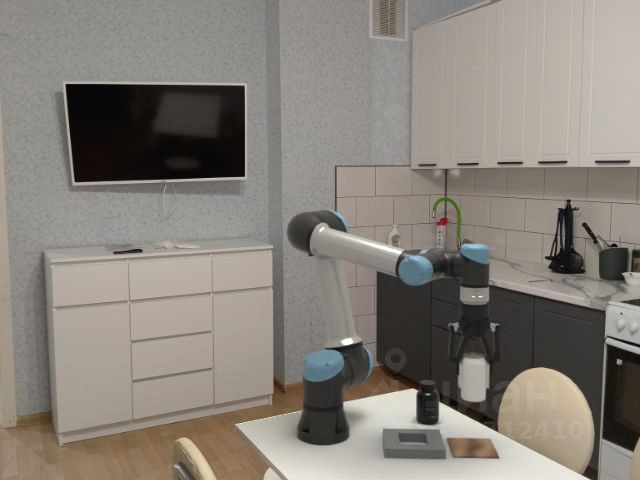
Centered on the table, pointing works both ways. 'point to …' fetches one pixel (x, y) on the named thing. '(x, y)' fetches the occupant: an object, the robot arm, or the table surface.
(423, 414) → the supplement bottle
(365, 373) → the robot arm
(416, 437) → the plate
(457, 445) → the pad
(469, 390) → the can
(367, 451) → the table surface
